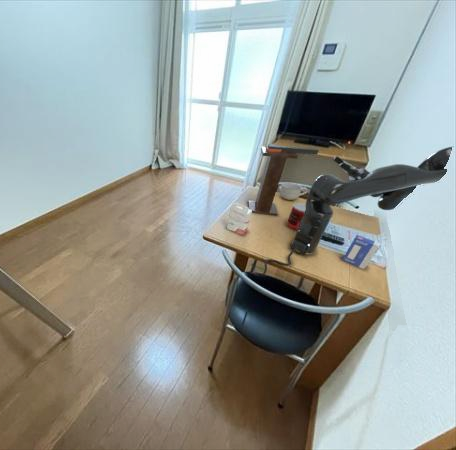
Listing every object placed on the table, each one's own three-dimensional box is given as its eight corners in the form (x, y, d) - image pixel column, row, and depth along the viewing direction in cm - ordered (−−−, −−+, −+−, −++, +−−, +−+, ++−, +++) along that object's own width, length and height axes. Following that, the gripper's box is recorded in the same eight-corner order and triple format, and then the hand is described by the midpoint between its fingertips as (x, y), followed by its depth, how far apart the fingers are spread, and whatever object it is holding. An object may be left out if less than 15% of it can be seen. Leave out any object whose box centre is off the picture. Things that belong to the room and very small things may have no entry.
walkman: (341, 260, 102) (355, 236, 95) (343, 256, 103) (357, 233, 97) (364, 269, 97) (380, 246, 90) (366, 266, 99) (381, 242, 92)
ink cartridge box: (247, 231, 118) (254, 204, 110) (242, 235, 115) (249, 208, 107) (231, 224, 123) (237, 198, 115) (226, 228, 120) (231, 201, 112)
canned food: (304, 224, 123) (312, 205, 117) (302, 232, 118) (310, 212, 112) (287, 219, 127) (294, 201, 120) (285, 227, 121) (292, 207, 115)
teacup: (277, 199, 145) (281, 186, 140) (279, 192, 153) (282, 180, 148) (303, 205, 140) (308, 192, 135) (304, 197, 148) (308, 184, 143)
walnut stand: (274, 204, 139) (293, 148, 121) (278, 215, 130) (298, 156, 112) (247, 201, 142) (261, 145, 124) (248, 212, 133) (263, 153, 115)
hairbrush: (314, 152, 117) (316, 147, 116) (318, 155, 113) (319, 150, 112) (266, 148, 121) (267, 143, 120) (267, 151, 117) (268, 146, 116)
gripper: (364, 168, 120) (339, 149, 118) (379, 180, 108) (351, 159, 106) (350, 180, 124) (325, 162, 122) (362, 192, 113) (335, 172, 111)
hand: (338, 160), depth 114 cm, fingers open, 8 cm apart
